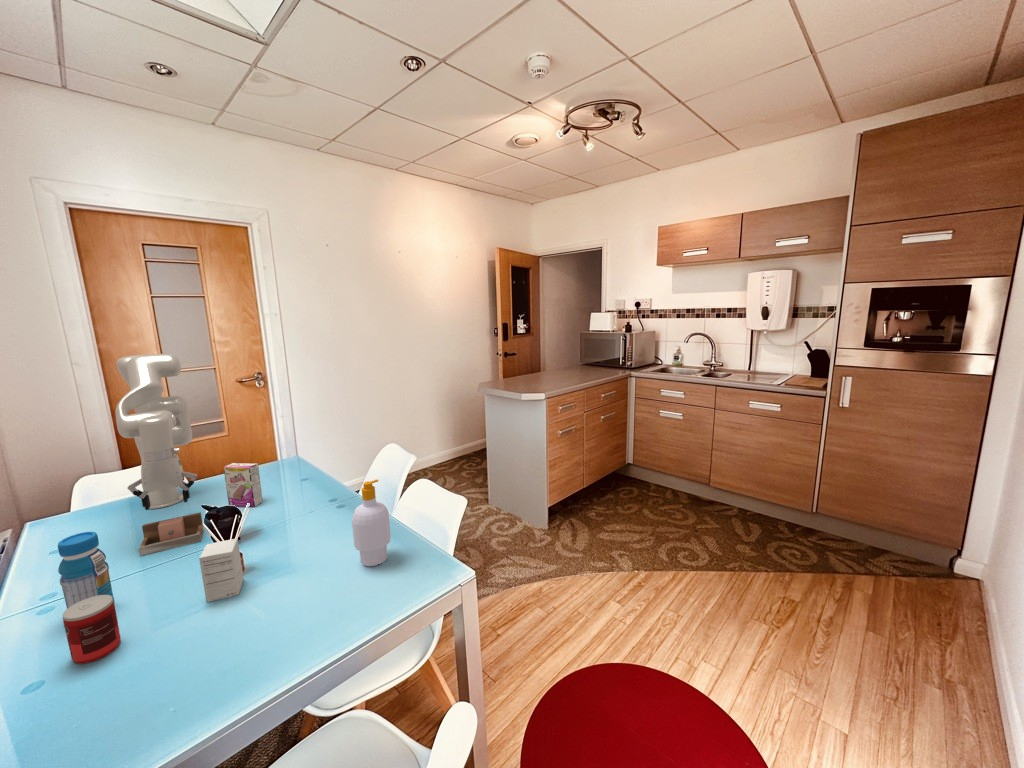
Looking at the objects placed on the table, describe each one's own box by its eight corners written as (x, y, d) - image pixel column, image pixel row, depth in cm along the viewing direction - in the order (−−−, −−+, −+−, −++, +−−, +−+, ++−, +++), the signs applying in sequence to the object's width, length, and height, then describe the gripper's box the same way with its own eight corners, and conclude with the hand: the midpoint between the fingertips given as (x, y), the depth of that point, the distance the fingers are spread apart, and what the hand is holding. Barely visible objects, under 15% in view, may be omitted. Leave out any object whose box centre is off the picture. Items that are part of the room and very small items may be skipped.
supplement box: (212, 586, 112) (206, 543, 110) (244, 579, 115) (238, 537, 113) (205, 603, 106) (197, 557, 104) (239, 595, 109) (232, 550, 107)
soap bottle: (398, 558, 123) (393, 482, 119) (366, 574, 116) (359, 493, 112) (381, 546, 130) (375, 473, 126) (349, 560, 123) (342, 483, 119)
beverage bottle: (73, 629, 98) (56, 551, 95) (63, 616, 102) (47, 541, 99) (120, 607, 105) (106, 534, 102) (109, 596, 109) (95, 526, 106)
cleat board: (146, 543, 136) (143, 524, 135) (203, 529, 144) (200, 512, 143) (139, 556, 128) (136, 536, 127) (200, 541, 136) (197, 523, 135)
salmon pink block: (163, 541, 137) (159, 521, 136) (186, 536, 140) (182, 516, 139) (160, 548, 133) (157, 527, 132) (184, 542, 136) (181, 522, 135)
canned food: (93, 639, 95) (84, 595, 93) (131, 636, 95) (122, 592, 93) (60, 666, 87) (50, 620, 85) (101, 663, 88) (91, 616, 86)
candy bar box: (228, 507, 161) (222, 467, 159) (237, 501, 166) (232, 462, 163) (254, 507, 160) (249, 467, 157) (263, 502, 165) (258, 462, 162)
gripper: (194, 446, 139) (201, 493, 142) (125, 456, 130) (135, 506, 133) (191, 453, 133) (199, 502, 136) (119, 463, 124) (129, 516, 127)
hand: (167, 504), depth 135 cm, fingers open, 9 cm apart
